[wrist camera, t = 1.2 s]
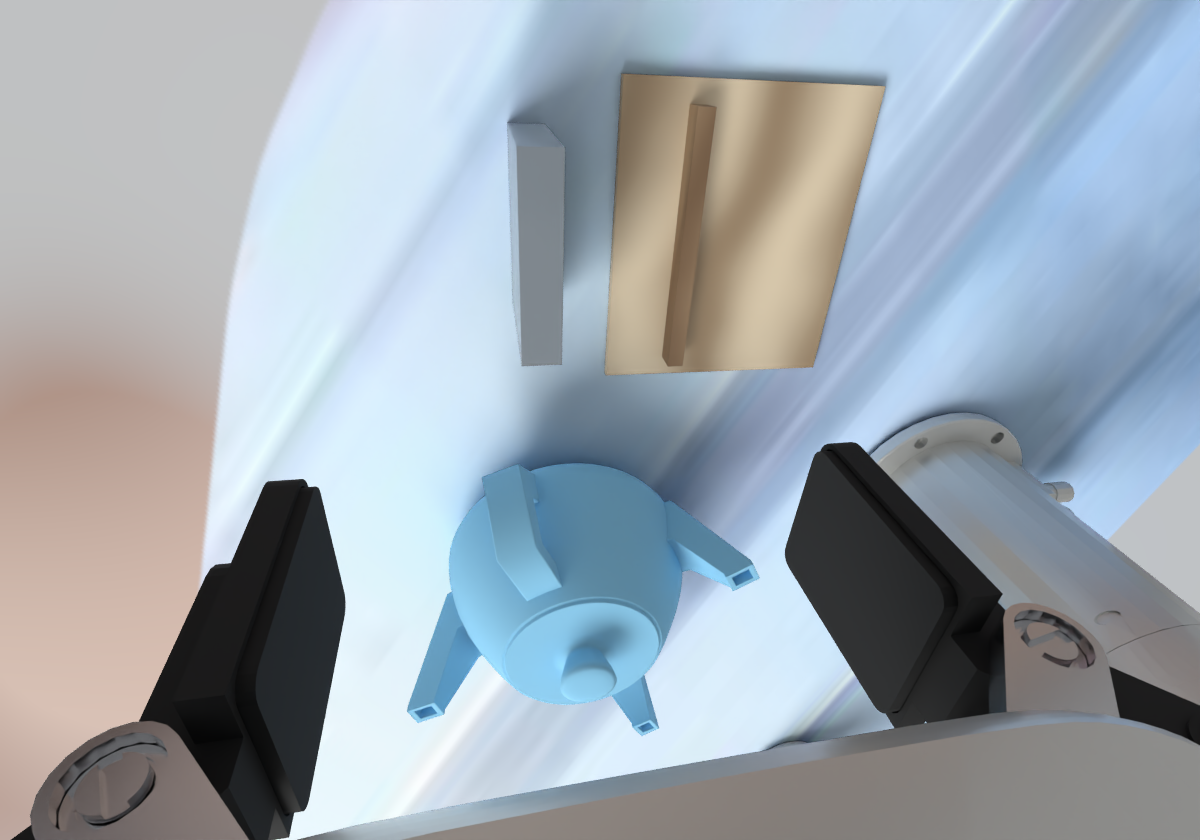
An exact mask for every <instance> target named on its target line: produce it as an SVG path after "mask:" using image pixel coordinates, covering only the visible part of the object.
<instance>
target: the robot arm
mask: <svg viewBox="0 0 1200 840" xmlns="http://www.w3.org/2000/svg"><path fill="white" fill-rule="evenodd" d="M1073 497H1074V490H1073V487H1072V486H1071V485H1070V484H1069V483H1067V482H1052V483H1044V484H1042V483H1041V482H1040V481H1039V480H1037V479H1036V478H1035V477H1033V476H1032V475H1031V474H1030V473H1028V472H1027V471H1026V470H1024V469H1023V468H1022V452H1021V448H1020V445H1019V443H1018V441H1017V439H1016V437H1015V436H1014V435H1013V434H1012V433H1011V432H1010V431H1009V430H1008V429H1007V428H1005V427H1004V426H1003V425H1001V424H1000V423H998V422H997V421H996V420H994V419H991V418H989V417H987V416H984V415H981V414H974V413H950V414H946V415H941V416H937V417H932V418H930V419H927V420H925V421H922V422H919V423H917V424H914V425H912V426H910V427H909V428H907V429H905V430H903V431H901V432H899V433H897V434H896V435H894V436H893V437H892V438H890V439H889V440H888V441H886V442H885V443H883V444H882V445H881V446H880V447H878V448H877V449H876V450H875V451H874V452H873V453H872V454H871V455H870V456H869V455H868V454H867V453H866V452H865V451H864V450H863V449H862V447H861V446H859V445H858V444H857V443H853V442H848V443H833V444H826V445H824V446H823V447H822V449H821V451H820V452H817V453H816V454H815V456H814V458H813V461H812V464H811V467H810V470H809V474H808V477H807V480H806V483H805V487H804V490H803V493H802V496H801V499H800V503H799V506H798V509H797V512H796V516H795V519H794V522H793V525H792V528H791V532H790V535H789V538H788V541H787V545H786V548H785V558H786V562H787V564H788V567H789V568H790V570H791V572H792V573H793V575H794V576H795V578H796V580H797V581H798V583H799V585H800V586H801V588H802V589H803V591H804V593H805V594H806V596H807V598H808V599H809V601H810V602H811V604H812V606H813V607H814V609H815V611H816V612H817V614H818V615H819V617H820V619H821V620H822V622H823V624H824V625H825V627H826V628H827V630H828V632H829V633H830V635H831V636H832V638H833V640H834V641H835V643H836V645H837V646H838V648H839V649H840V651H841V653H842V654H843V656H844V658H845V659H846V661H847V662H848V664H849V666H850V667H851V669H852V671H853V672H854V674H855V675H856V677H857V679H858V680H859V682H860V684H861V685H862V687H863V688H864V690H865V692H866V693H867V695H868V697H869V698H870V700H871V701H872V703H873V705H874V706H875V707H876V709H878V710H879V711H880V712H882V713H886V715H887V717H888V718H889V720H890V721H891V723H892V725H893V726H894V729H889V730H883V731H877V732H871V733H865V734H859V735H853V736H847V737H841V738H835V739H829V740H823V741H817V742H812V743H806V744H800V745H794V746H788V747H782V748H776V749H771V750H765V751H759V752H753V753H748V754H742V755H736V756H730V757H725V758H719V759H713V760H707V761H702V762H696V763H690V764H685V765H679V766H673V767H668V768H662V769H656V770H650V771H645V772H639V773H633V774H628V775H622V776H616V777H611V778H605V779H600V780H594V781H589V782H583V783H578V784H572V785H566V786H561V787H555V788H550V789H544V790H539V791H533V792H528V793H522V794H516V795H511V796H505V797H500V798H494V799H489V800H483V801H478V802H472V803H466V804H461V805H456V806H451V807H446V808H441V809H436V810H431V811H426V812H421V813H416V814H411V815H406V816H401V817H396V818H391V819H386V820H380V821H375V822H370V823H365V824H360V825H356V826H351V827H347V828H343V829H339V830H335V831H331V832H327V833H323V834H319V835H315V836H311V837H307V838H303V839H298V840H1200V613H1199V612H1197V611H1196V610H1195V609H1193V608H1192V607H1191V606H1190V605H1188V604H1187V603H1186V602H1184V601H1183V600H1182V599H1181V598H1179V597H1178V596H1177V595H1176V594H1174V593H1173V592H1172V591H1171V590H1169V589H1168V588H1167V587H1166V586H1164V585H1163V584H1162V583H1160V582H1159V581H1158V580H1156V579H1155V578H1154V577H1153V576H1151V575H1150V574H1149V573H1148V572H1146V571H1145V570H1144V569H1143V568H1141V567H1140V566H1139V565H1138V564H1136V563H1135V562H1133V561H1132V560H1131V559H1130V558H1129V557H1127V556H1126V555H1125V554H1124V553H1122V552H1121V551H1120V550H1118V549H1117V548H1116V547H1115V546H1113V545H1112V544H1111V543H1110V542H1108V541H1107V540H1106V539H1105V538H1103V537H1102V536H1101V535H1100V534H1098V533H1097V532H1096V531H1094V530H1093V529H1092V528H1091V527H1089V526H1088V525H1087V524H1086V523H1084V522H1083V521H1082V520H1080V519H1079V518H1078V517H1077V516H1075V515H1074V513H1073V512H1072V511H1071V510H1070V509H1069V508H1067V507H1065V506H1063V505H1061V504H1060V503H1059V502H1069V501H1071V500H1072V499H1073ZM344 616H345V594H344V589H343V585H342V581H341V577H340V573H339V569H338V564H337V560H336V556H335V552H334V548H333V544H332V539H331V535H330V531H329V527H328V523H327V518H326V514H325V510H324V506H323V502H322V498H321V493H320V490H319V488H318V487H308V485H307V483H306V481H305V480H304V479H297V480H282V481H268V482H267V483H266V484H265V485H264V487H263V489H262V491H261V494H260V496H259V499H258V501H257V503H256V506H255V508H254V510H253V513H252V515H251V517H250V520H249V522H248V524H247V527H246V529H245V531H244V534H243V536H242V539H241V541H240V543H239V546H238V548H237V550H236V553H235V555H234V557H233V560H232V562H231V563H229V564H218V565H215V566H214V567H212V568H211V569H210V571H209V572H208V574H207V575H206V577H205V579H204V581H203V584H202V586H201V588H200V590H199V592H198V595H197V597H196V599H195V601H194V603H193V606H192V608H191V610H190V612H189V614H188V616H187V618H186V621H185V623H184V625H183V627H182V629H181V631H180V634H179V636H178V638H177V640H176V642H175V644H174V647H173V649H172V651H171V653H170V655H169V657H168V660H167V662H166V664H165V666H164V668H163V670H162V673H161V675H160V677H159V679H158V681H157V683H156V686H155V688H154V690H153V692H152V694H151V696H150V699H149V701H148V703H147V705H146V707H145V710H144V712H143V714H142V716H141V718H140V720H139V722H132V723H128V724H125V725H122V726H119V727H115V728H112V729H109V730H107V731H106V732H104V733H102V734H100V735H98V736H96V737H94V738H92V739H90V740H88V741H87V742H85V743H84V744H83V745H81V746H80V747H79V748H77V749H76V750H75V751H74V752H72V753H71V754H69V755H68V756H67V757H66V758H65V759H64V760H63V761H62V762H61V763H60V764H59V765H58V766H57V767H56V768H55V769H54V770H53V771H52V772H51V773H50V774H49V776H48V778H47V779H46V780H45V782H44V784H43V785H42V787H41V788H40V790H39V791H38V793H37V795H36V798H35V801H34V804H33V807H32V810H31V814H30V818H31V826H29V827H28V828H26V829H25V830H24V831H22V832H21V833H20V834H18V835H17V836H16V837H14V838H13V839H11V840H276V839H282V838H287V837H289V835H290V830H291V825H292V820H293V816H294V813H295V812H301V811H304V810H305V809H306V807H307V804H308V801H309V797H310V792H311V786H312V781H313V776H314V771H315V766H316V761H317V755H318V750H319V745H320V740H321V735H322V730H323V724H324V719H325V714H326V709H327V704H328V698H329V693H330V688H331V683H332V678H333V673H334V667H335V662H336V657H337V652H338V647H339V642H340V636H341V631H342V626H343V621H344ZM925 721H926V722H927V723H925ZM924 723H925V724H924Z"/></svg>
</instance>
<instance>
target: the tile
mask: <svg viewBox="0 0 1200 840" xmlns="http://www.w3.org/2000/svg"><path fill="white" fill-rule="evenodd" d="M507 137H508V169H509V201H510V233H511V265H512V297H513V308H514V315H515V322H516V329H517V336H518V343H519V350H520V357H521V364H522V366H538V365H562V324H563V256H564V188H565V147H564V146H563V144H562V143H561V142H560V141H559V140H558V139H557V137H556V136H555V135H554V134H553V133H552V132H551V130H550V129H549V128H548V127H547V126H546V125H545V124H535V123H507Z"/></svg>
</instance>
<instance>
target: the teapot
mask: <svg viewBox="0 0 1200 840" xmlns="http://www.w3.org/2000/svg"><path fill="white" fill-rule="evenodd" d="M482 480H483V485H484V491H485V496H484V497H483V498H482V499H480V500H479V501H478V502H477V503H476V504H475V506H474V507H473V508H472V509H471V510H470V511H469V512H468V514H467V515H466V517H465V518H464V520H463V521H462V523H461V524H460V526H459V528H458V530H457V532H456V534H455V536H454V539H453V542H452V545H451V548H450V556H449V576H450V585H451V590H452V592H450V593H449V594H447V597H446V600H445V603H444V605H443V608H442V611H441V614H440V617H439V620H438V622H437V625H436V628H435V631H434V634H433V637H432V639H431V642H430V645H429V648H428V651H427V654H426V656H425V659H424V662H423V665H422V668H421V671H420V674H419V676H418V679H417V682H416V685H415V688H414V691H413V693H412V696H411V699H410V702H409V705H408V709H407V712H408V713H409V714H410V715H411V716H412V717H413V718H414V719H415V720H416V722H417V723H419V722H422V721H425V720H428V719H431V718H434V717H437V716H441V715H444V712H445V708H446V707H447V705H448V704H449V702H450V701H451V699H452V698H453V696H454V694H455V693H456V691H457V690H458V688H459V687H460V685H461V684H462V682H463V680H464V679H465V677H466V676H467V674H468V673H469V671H470V670H471V668H472V667H473V665H474V663H475V662H476V660H477V659H478V657H480V656H481V655H483V656H484V657H485V659H486V660H487V661H488V662H489V663H490V664H491V666H492V667H493V668H494V669H495V670H496V671H497V672H498V673H499V674H500V675H501V676H502V677H503V678H504V679H505V680H506V681H507V682H508V683H509V684H510V685H511V686H513V687H514V688H515V689H516V690H518V691H519V692H520V693H522V694H524V695H526V696H528V697H530V698H533V699H535V700H538V701H542V702H546V703H552V704H563V705H568V704H581V703H587V702H592V701H596V700H600V699H603V698H606V697H609V696H611V695H612V697H613V698H614V700H615V701H616V702H617V704H618V705H619V706H620V708H621V709H622V711H623V712H624V713H625V715H626V716H627V718H628V719H629V720H630V722H631V723H632V727H633V728H634V729H635V730H636V731H637V732H638V733H639V734H640V735H641V736H643V735H645V734H647V733H650V732H652V731H654V730H656V729H659V726H658V723H657V719H656V716H655V712H654V708H653V705H652V701H651V698H650V694H649V690H648V687H647V683H646V680H645V676H644V674H645V673H646V672H647V671H648V670H649V669H650V668H651V667H652V665H653V664H654V663H655V661H656V659H657V657H658V655H659V653H660V652H661V650H662V648H663V646H664V643H665V641H666V638H667V636H668V633H669V630H670V627H671V625H672V622H673V619H674V616H675V613H676V609H677V605H678V601H679V597H680V592H681V584H682V572H684V571H688V570H692V571H694V572H697V573H699V574H701V575H704V576H706V577H708V578H710V579H713V580H715V581H717V582H720V583H722V584H724V585H726V586H729V587H731V589H732V591H734V590H737V589H739V588H741V587H743V586H745V585H747V584H749V583H751V582H753V581H755V580H757V579H759V576H758V573H757V571H756V569H755V567H754V565H753V563H752V561H751V560H750V559H748V558H747V557H746V556H744V555H743V554H742V553H740V552H739V551H738V550H736V549H735V548H734V547H732V546H731V545H730V544H728V543H727V542H726V541H724V540H723V539H722V538H720V537H719V536H718V535H716V534H715V533H714V532H712V531H711V530H710V529H708V528H707V527H706V526H704V525H703V524H702V523H700V522H699V521H698V520H696V519H695V518H693V517H692V516H691V515H689V514H688V513H687V512H685V511H684V510H683V509H681V508H680V507H679V506H677V505H676V504H675V503H673V502H672V501H667V502H664V501H663V500H662V499H661V497H660V496H659V495H658V494H657V493H656V492H655V491H653V490H652V489H651V488H650V487H649V486H648V485H646V484H645V483H644V482H642V481H641V480H639V479H637V478H636V477H634V476H632V475H630V474H628V473H626V472H623V471H621V470H617V469H614V468H611V467H607V466H601V465H596V464H584V463H569V464H558V465H551V466H546V467H542V468H538V469H534V470H532V471H529V470H527V469H526V468H524V467H523V466H521V465H519V464H516V465H514V466H511V467H508V468H506V469H503V470H500V471H497V472H495V473H492V474H489V475H487V476H484V477H482Z"/></svg>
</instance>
